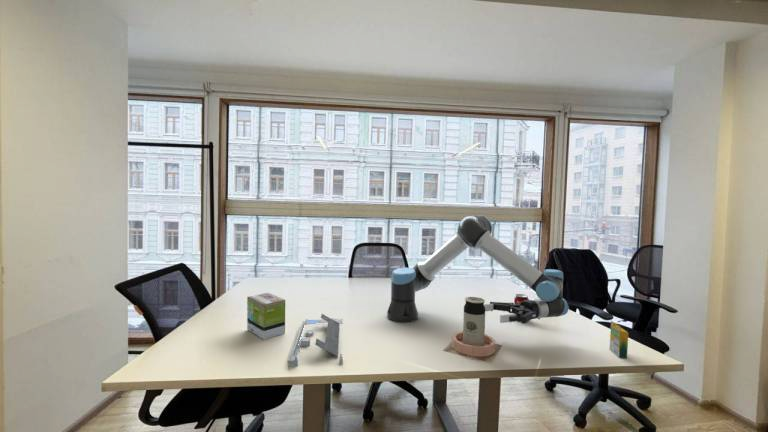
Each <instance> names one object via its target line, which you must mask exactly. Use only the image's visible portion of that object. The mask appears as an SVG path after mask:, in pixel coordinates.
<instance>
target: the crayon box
mask: <svg viewBox="0 0 768 432" xmlns="http://www.w3.org/2000/svg"><path fill="white" fill-rule="evenodd" d="M609 337H610V339H609V350H610V351H611V352H612V353H613V354H614V355H615V356H616V357H618V358H619V359H620V358H621V359H628V345H629V344H628V343H629V332H628V331H627V330H625V329H624V328H623V327H621V325H619V324H617V323H616V322H614V321H612V320H611V321H610V336H609Z"/></svg>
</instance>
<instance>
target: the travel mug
mask: <svg viewBox="0 0 768 432" xmlns="http://www.w3.org/2000/svg"><path fill="white" fill-rule="evenodd" d="M464 301H465V303H464V305H463V319H462V320H463V323H462V325H463V327H462V332H463V344H467V345H471V346H484V335H485V330H486V311H485V307H484V304H485V301H486V300H485V299H484V298H482V297H479V296H467V297H465V298H464Z"/></svg>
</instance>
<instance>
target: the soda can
mask: <svg viewBox="0 0 768 432" xmlns="http://www.w3.org/2000/svg"><path fill="white" fill-rule="evenodd" d="M524 300H530V299H529V297H528V295H527V294H523V293H522V294H521V293H517V294H515V297H514V298H513V303H514V305H516V304H519V305H520V304H521V302H522V301H524ZM516 316H517V314H516Z"/></svg>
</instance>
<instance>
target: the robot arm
mask: <svg viewBox="0 0 768 432" xmlns="http://www.w3.org/2000/svg"><path fill="white" fill-rule="evenodd" d="M492 233H493V224H492V222H491V220H490V219H489V218H488V217H487V216H485V215H480V214H477V215H466V216H465V217H463V218H462V219H461V220H460V221H459V223H458V227H457V228H456V234H454V235H453V236H452V237H451V238H450V239H449V240H447V242H445V243H444V244H442V246H441V247H439V248H438V249H437V250H435V252H433V254H431V255H430V256H429V257H427V258H426V260H424V261H418V262H417V263H416V264H415V265H414V266H412V267H398V268H395V269H394V270H393V271H392V273H391V279H390V281H391V287H390V289H391V292H390V294H391V295H390V303H389V306H388V309H387V311H386V313H387V314H386V318H387V319H389V320H391V321H393V322H399V323H409V322H415V321H416V320H418V319H419V312H418V309H417V305H416V292H419V291H421V290H424V289H426V288H428V287H429V285H430V284H432V283H431V282H433V281H434V280H435V276H436V275H437V274H438V273H439V272H440V271H441V270H443V269H444V268H445V267H446V266H448V265H449V264H450V263H451V262H452V261H454V260H455V259H456V258H458V256H460V255H461V254H462V253H464V252H465V251H466V250H467V249H469V248H473V249H475V250H478V249H479V250H481V251H482V252H483V253H484V254H485V255H487V256H488V257H490V259H492V260H493V261H495V262H496V263H497V264H499V265H500V266H501V267H502V268H503V269H505V270H507V271H508V273H510V274H511V275H513V276H514V277H516V278H517V279H518V280H520V281H521V282H522V283H523V284H525V285H526V286H527V287H529V288H530V289H531V290H533V291H534V292H535V293H536V296H537V299H536V298H535V299H529V300H524V301H522V302H521V304H520V305H519V304H516V305H514V302H502V301H501V302H500V301H499V302H498V301H490V302H489V303H484V307H485V312H493V311H500V312H508V313H507V314H500V316H499V322H500V323H501V324H504V323H505V324H506V323H513V322H517V323H520V322H521V324H527V323H528V322H530V321H531V320H535V319H538V320H541V319H542V318H543V319H545V318H554V317H556V318H558V317H562V316H565V315H566V314H568V312H569V309H570V307H569V304H568V302H567V300H566V299H565V298H564V297H563V292H564V272H563V271H562V270H559V269H553V268H548V269H544V270H543V272H542V271H540V270H539V269H538V268H536V267H535V266H533V264H531V263H530V262H529V261H528V260H526V259H524V258H523V257H522V256H520V255H518V254H517V253H516V252H514V250H512V249H510V248H509V247H508V246H506V245H505V243H502V242H501V241H500V240H498V239H496V238H495V237H494V236H492V235H491V234H492ZM516 314H517V316H516Z"/></svg>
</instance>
